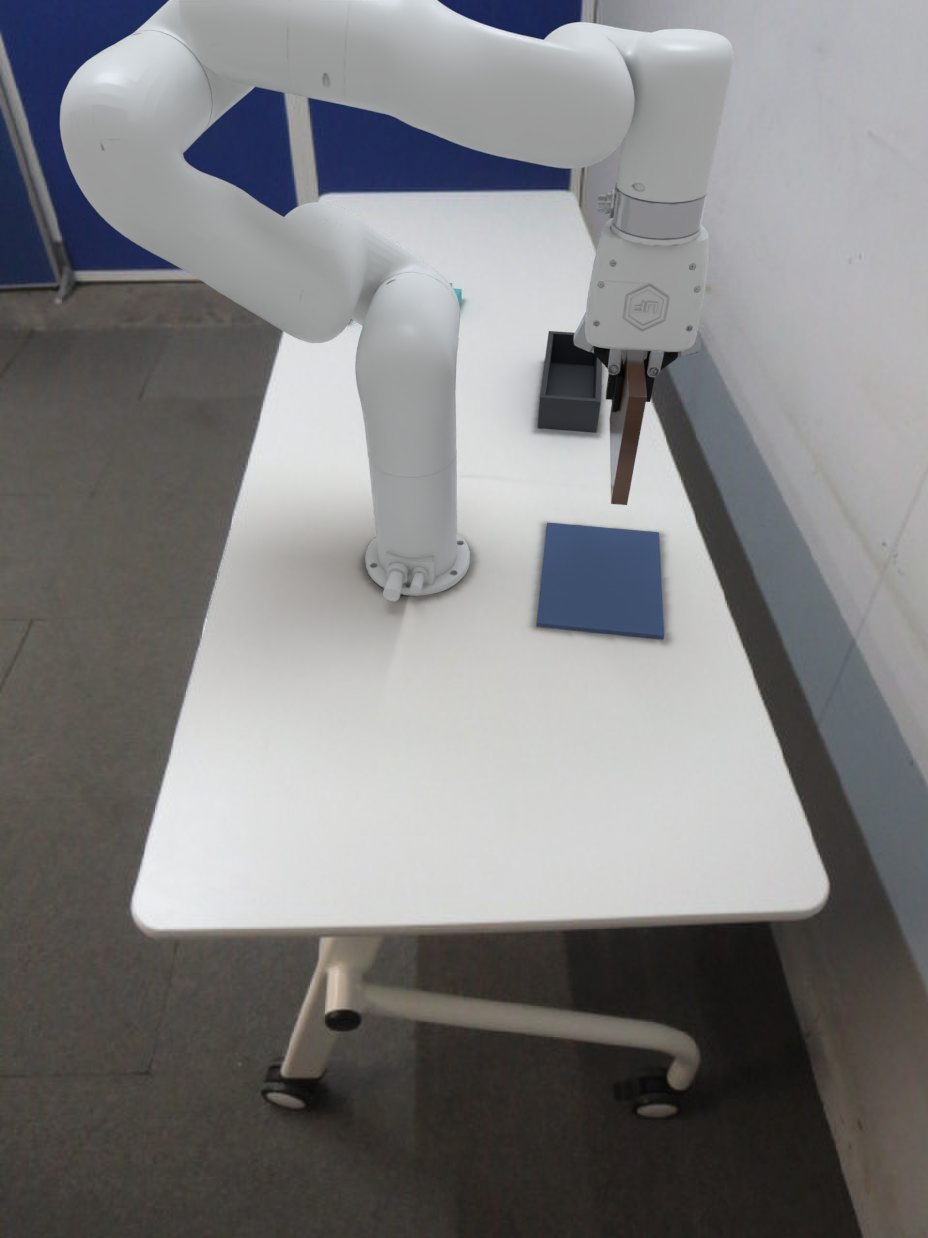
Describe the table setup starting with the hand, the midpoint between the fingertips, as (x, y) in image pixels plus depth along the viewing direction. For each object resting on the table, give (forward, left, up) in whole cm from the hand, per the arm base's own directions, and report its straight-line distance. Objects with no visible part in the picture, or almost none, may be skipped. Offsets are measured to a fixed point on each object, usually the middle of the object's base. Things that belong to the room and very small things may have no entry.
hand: (626, 404), depth 81 cm
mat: (-2, 0, -22) cm, 22 cm away
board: (0, 0, -7) cm, 7 cm away
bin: (+39, +5, -22) cm, 45 cm away
